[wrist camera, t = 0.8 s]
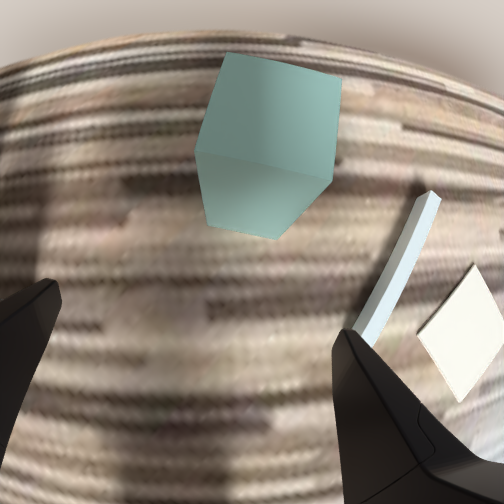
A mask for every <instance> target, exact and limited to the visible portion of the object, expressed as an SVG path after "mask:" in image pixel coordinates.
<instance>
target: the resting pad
mask: <svg viewBox="0 0 504 504" xmlns="http://www.w3.org/2000/svg"><path fill="white" fill-rule="evenodd" d="M417 337H418V338H419V340H420V341H421V343H422V344H423V346H424V347H425V349H426V350H427V352H428V354H429V355H430V357H431V358H432V360H433V361H434V363H435V365H436V366H437V368H438V369H439V371H440V373H441V374H442V376H443V377H444V379H445V381H446V382H447V384H448V386H449V387H450V389H451V391H452V392H453V394H454V396H455V397H456V399H457V401H458V402H461V401H462V400H463V399H464V397H465V396H466V395H467V394H468V392H469V391H470V390H471V389H472V387H473V386H474V385H475V383H476V382H477V381H478V379H479V378H480V377H481V375H482V374H483V373H484V371H485V370H486V368H487V367H488V366H489V364H490V363H491V361H492V360H493V358H494V357H495V355H496V354H497V353H498V351H499V349H500V348H501V346H502V345H503V343H504V319H503V317H502V315H501V313H500V311H499V309H498V307H497V305H496V303H495V301H494V299H493V297H492V295H491V293H490V291H489V289H488V287H487V285H486V283H485V281H484V280H483V278H482V276H481V274H480V272H479V270H478V269H477V267H476V265H473V266H472V267H471V269H470V270H469V271H468V273H467V274H466V275H465V277H464V278H463V279H462V281H461V282H460V283H459V285H458V286H457V287H456V289H455V290H454V291H453V292H452V294H451V295H450V296H449V297H448V299H447V300H446V301H445V302H444V304H443V305H442V306H441V307H440V309H439V310H438V311H437V312H436V313H435V314H434V316H433V317H432V318H431V319H430V320H429V322H428V323H427V324H426V325H425V326H424V327H423V328H422V330H421V331H420V332H419V333H418V334H417Z"/></svg>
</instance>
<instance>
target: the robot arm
mask: <svg viewBox="0 0 504 504" xmlns="http://www.w3.org/2000/svg"><path fill="white" fill-rule="evenodd" d="M61 305H62V299H61V294H60V290H59V285H58V282H57V281H56V280H54V279H49V278H45V279H43V280H41V281H39V282H37V283H35V284H33V285H31V286H29V287H27V288H25V289H23V290H21V291H19V292H17V293H15V294H13V295H11V296H10V297H8V298H6V299H4V300H2V301H0V468H1V465H2V461H3V458H4V455H5V451H6V448H7V445H8V442H9V438H10V435H11V433H12V430H13V427H14V424H15V421H16V418H17V416H18V413H19V410H20V408H21V405H22V402H23V400H24V397H25V395H26V392H27V390H28V387H29V385H30V382H31V380H32V378H33V375H34V373H35V371H36V368H37V366H38V364H39V362H40V360H41V357H42V355H43V353H44V351H45V348H46V346H47V344H48V341H49V339H50V336H51V333H52V330H53V327H54V325H55V322H56V319H57V317H58V314H59V311H60V309H61ZM332 393H333V403H334V411H335V419H336V427H337V435H338V444H339V453H340V463H341V473H342V483H343V495H344V504H504V464H503V463H496V462H491V461H487V460H484V459H481V458H479V457H478V456H476V455H475V454H473V453H472V452H471V451H470V450H469V449H468V448H467V447H466V446H465V445H464V444H462V443H461V442H460V441H459V440H458V439H457V438H456V437H455V436H454V435H453V434H452V433H451V432H450V431H449V430H447V429H446V428H445V427H444V426H443V425H442V424H441V423H440V422H439V421H438V420H437V419H436V418H435V416H434V415H433V414H432V413H431V412H430V411H429V410H428V409H427V408H426V407H425V406H424V405H423V403H421V401H420V400H419V399H418V398H417V397H416V396H415V395H414V394H413V392H412V391H411V390H410V389H409V388H408V387H407V386H406V385H405V384H404V383H403V381H402V380H401V379H400V378H399V377H398V376H397V375H396V374H395V373H394V372H393V370H392V369H391V368H390V367H389V366H388V365H387V364H386V363H385V362H384V361H383V360H382V359H381V357H380V356H379V355H378V354H377V353H376V352H375V351H374V350H373V349H372V348H371V347H370V346H369V344H368V343H367V342H366V341H365V340H364V339H363V338H362V337H361V336H360V335H359V334H358V333H357V332H356V331H355V330H354V329H345V328H344V329H341V331H340V332H339V334H338V336H337V339H336V341H335V343H334V345H333V347H332Z"/></svg>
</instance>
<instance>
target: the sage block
mask: <svg viewBox="0 0 504 504" xmlns="http://www.w3.org/2000/svg"><path fill="white" fill-rule="evenodd" d="M341 85H342V79H341V78H338V77H335V76H331V75H328V74H325V73H321V72H318V71H314V70H310V69H306V68H303V67H299V66H295V65H291V64H287V63H282V62H278V61H273V60H269V59H264V58H259V57H254V56H249V55H243V54H237V53H231V52H226V55H225V58H224V61H223V63H222V66H221V69H220V72H219V75H218V77H217V80H216V83H215V86H214V89H213V92H212V95H211V98H210V101H209V104H208V107H207V110H206V113H205V116H204V120H203V123H202V126H201V129H200V132H199V136H198V139H197V142H196V146H195V149H194V153H195V159H196V165H197V171H198V177H199V182H200V188H201V194H202V199H203V205H204V210H205V216H206V221H207V226H212V227H217V228H222V229H227V230H231V231H236V232H241V233H246V234H250V235H255V236H260V237H264V238H269V239H274V240H277V239H278V238H279V237H280V236H281V235H282V234H283V233H284V232H285V231H286V230H287V229H288V228H289V227H290V226H291V225H292V224H293V222H294V221H295V220H296V219H297V218H298V217H299V216H300V215H301V214H302V213H303V212H304V211H305V210H306V209H307V208H308V207H309V206H310V204H311V203H312V202H313V201H314V200H315V199H316V198H317V197H318V196H319V195H320V194H321V193H322V192H323V191H324V190H325V188H326V187H327V186H328V185H329V184H330V183H331V182H332V179H333V170H334V162H335V153H336V143H337V133H338V122H339V111H340V99H341Z"/></svg>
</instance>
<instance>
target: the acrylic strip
mask: <svg viewBox="0 0 504 504" xmlns="http://www.w3.org/2000/svg"><path fill="white" fill-rule="evenodd" d="M440 201H441V198H440V197H438V196H437V195H436V194H435V193H434V192H433V191H431V190H430V191H429V192H427V193H425V194H423V195H421V196H419V197H417V199H416V201H415V204H414V206H413V208H412V211H411V213H410V215H409V217H408V220H407V222H406V224H405V226H404V228H403V231H402V233H401V235H400V237H399V239H398V241H397V244H396V246H395V248H394V250H393V252H392V254H391V256H390V258H389V260H388V262H387V264H386V266H385V268H384V270H383V272H382V274H381V276H380V278H379V280H378V282H377V284H376V286H375V287H374V289H373V291H372V293H371V295H370V297H369V299H368V301H367V302H366V304H365V306H364V308H363V310H362V311H361V313H360V315H359V317H358V319H357V320H356V322H355V324H354V326H353V327H352V329H354V330H355V331H356V332H357V333H358V334H359V335H360V336H361V337H362V338H363V339H364V340H365V341H366V342H367V343H368V344H369V346H370V347H371V348H372V347H373V345H374V344H375V342H376V340H377V338H378V337H379V335H380V333H381V331H382V329H383V327H384V326H385V324H386V322H387V320H388V318H389V316H390V314H391V312H392V310H393V308H394V307H395V305H396V303H397V301H398V299H399V297H400V295H401V293H402V291H403V288H404V286H405V284H406V282H407V280H408V278H409V276H410V274H411V272H412V269H413V267H414V265H415V263H416V261H417V258H418V256H419V254H420V252H421V249H422V247H423V245H424V242H425V240H426V237H427V235H428V232H429V230H430V228H431V225H432V223H433V220H434V217H435V215H436V212H437V210H438V207H439V204H440Z"/></svg>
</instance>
